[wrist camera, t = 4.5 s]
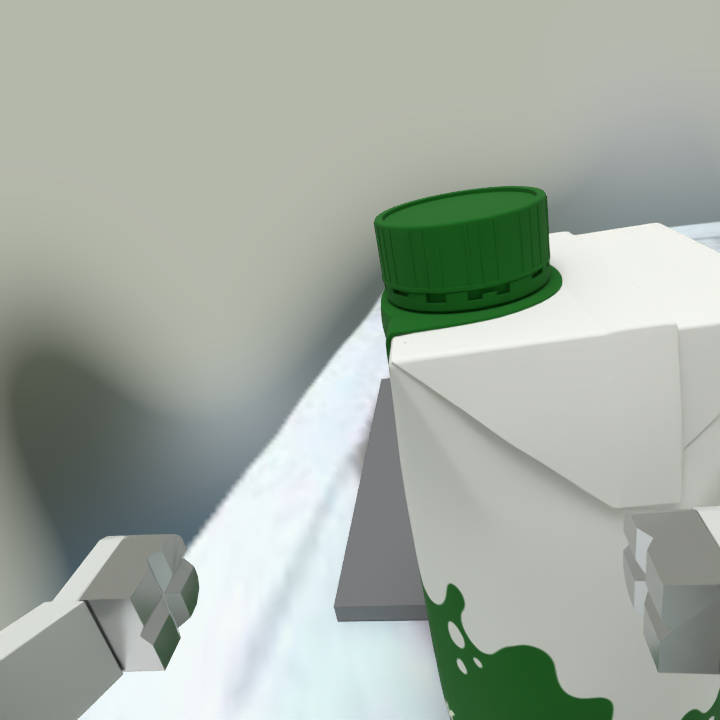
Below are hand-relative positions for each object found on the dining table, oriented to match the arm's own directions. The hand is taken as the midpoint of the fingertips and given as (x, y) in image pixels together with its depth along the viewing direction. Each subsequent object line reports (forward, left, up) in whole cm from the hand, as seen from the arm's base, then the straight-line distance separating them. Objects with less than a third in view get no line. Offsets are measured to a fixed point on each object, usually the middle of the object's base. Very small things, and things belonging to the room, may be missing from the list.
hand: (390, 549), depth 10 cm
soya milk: (-4, -6, -15) cm, 17 cm away
